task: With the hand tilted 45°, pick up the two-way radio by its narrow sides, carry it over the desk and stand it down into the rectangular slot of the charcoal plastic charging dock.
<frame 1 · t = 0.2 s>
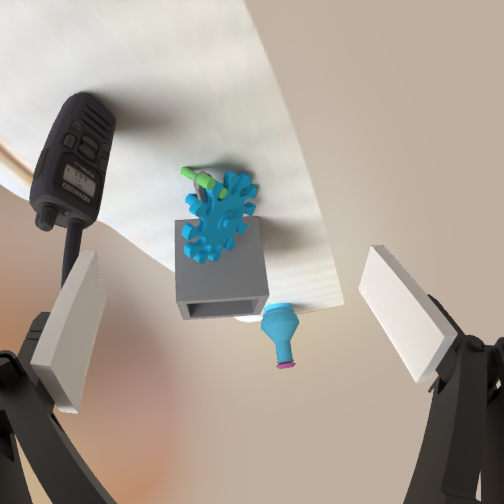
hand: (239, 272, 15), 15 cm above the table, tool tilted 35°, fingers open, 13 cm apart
gear: (218, 183, 33), on the table
charging dock: (216, 234, 42), on the table
two-way radio: (86, 115, 21), on the table
perfume bottle: (277, 306, 78), on the table
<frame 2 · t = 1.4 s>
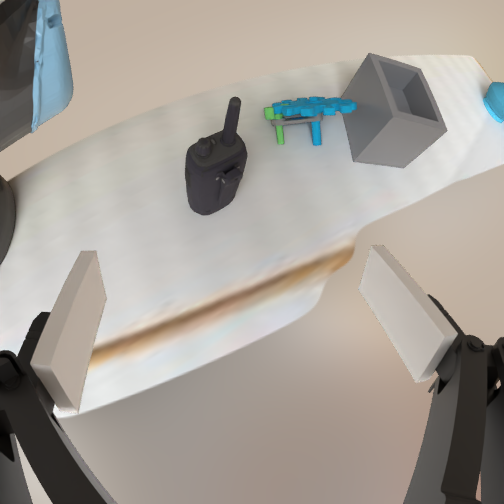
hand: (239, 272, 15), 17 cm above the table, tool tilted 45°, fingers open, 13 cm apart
gear: (300, 125, 38), on the table
charging dock: (371, 133, 39), on the table
two-way radio: (214, 203, 33), on the table
perfume bottle: (492, 110, 49), on the table
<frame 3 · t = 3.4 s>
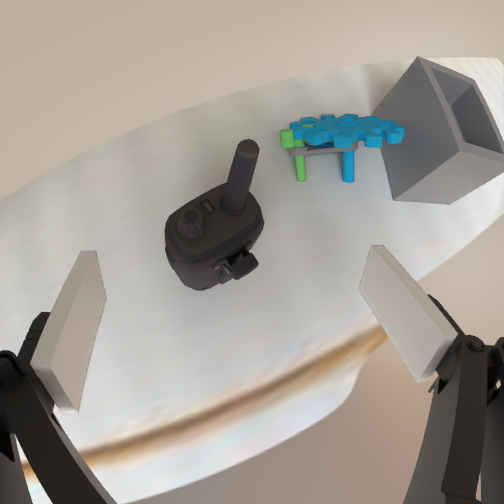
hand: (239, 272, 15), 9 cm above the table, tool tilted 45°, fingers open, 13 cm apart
gear: (326, 152, 29), on the table
charging dock: (412, 159, 30), on the table
two-way radio: (213, 270, 24), on the table
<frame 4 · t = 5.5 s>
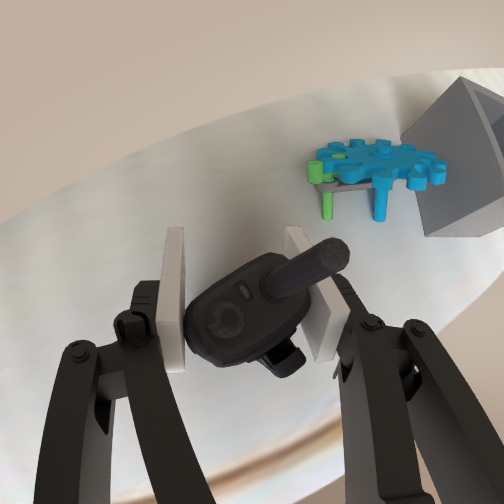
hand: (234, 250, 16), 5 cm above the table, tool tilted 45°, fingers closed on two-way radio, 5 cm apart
gear: (354, 184, 25), on the table
charging dock: (443, 187, 27), on the table
two-way radio: (229, 326, 21), on the table, touching gripper
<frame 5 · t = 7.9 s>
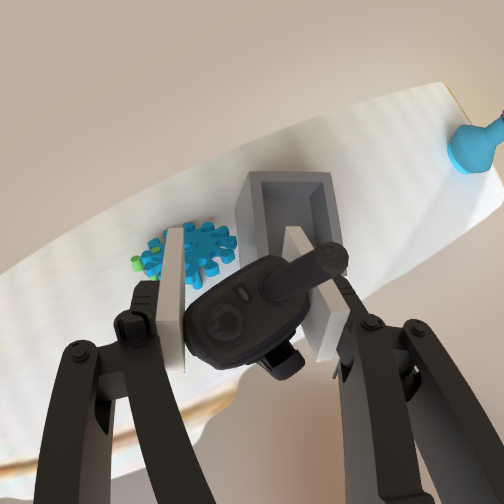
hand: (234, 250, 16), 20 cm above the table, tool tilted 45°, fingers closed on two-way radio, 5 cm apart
gear: (184, 258, 36), on the table
charging dock: (272, 247, 38), on the table
two-way radio: (228, 328, 21), point 15 cm above the table, touching gripper
perfume bottle: (459, 158, 48), on the table
when the fingers open (13 cm above the table, at t = 10.3 s): two-way radio drops 1 cm, resting on charging dock.
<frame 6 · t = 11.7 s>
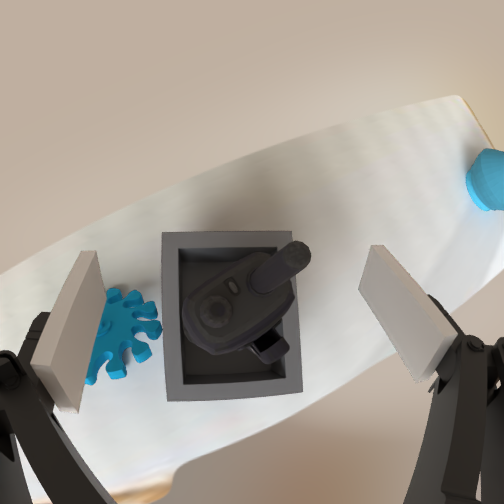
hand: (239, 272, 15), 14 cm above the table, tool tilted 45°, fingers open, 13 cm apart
gear: (108, 332, 26), on the table
charging dock: (220, 320, 28), on the table
two-way radio: (228, 320, 22), point 6 cm above the table, touching charging dock
perfume bottle: (479, 190, 38), on the table
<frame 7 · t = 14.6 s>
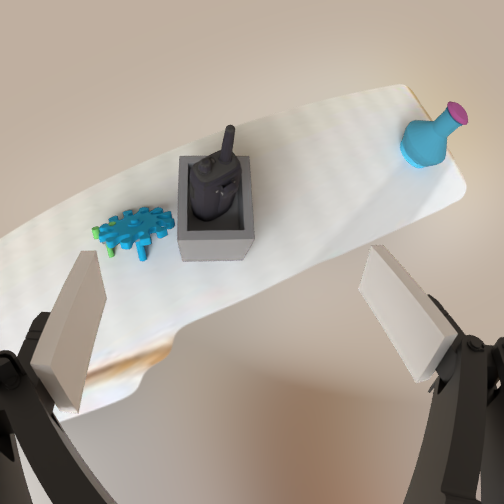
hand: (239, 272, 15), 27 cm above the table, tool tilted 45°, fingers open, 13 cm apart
gear: (137, 236, 42), on the table
charging dock: (211, 225, 44), on the table
two-way radio: (214, 210, 38), point 6 cm above the table, touching charging dock
perfume bottle: (413, 153, 54), on the table
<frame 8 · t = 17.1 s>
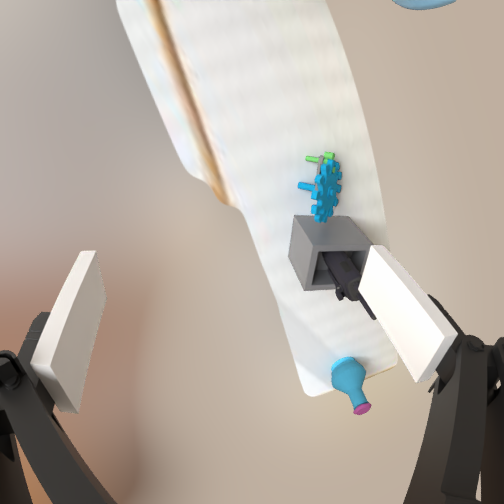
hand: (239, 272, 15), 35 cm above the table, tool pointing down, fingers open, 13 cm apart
gear: (318, 179, 51), on the table
charging dock: (318, 236, 56), on the table
two-way radio: (328, 254, 51), point 6 cm above the table, touching charging dock
perfume bottle: (343, 364, 78), on the table
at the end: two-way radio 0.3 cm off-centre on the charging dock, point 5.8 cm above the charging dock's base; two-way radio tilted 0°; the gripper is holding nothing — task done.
